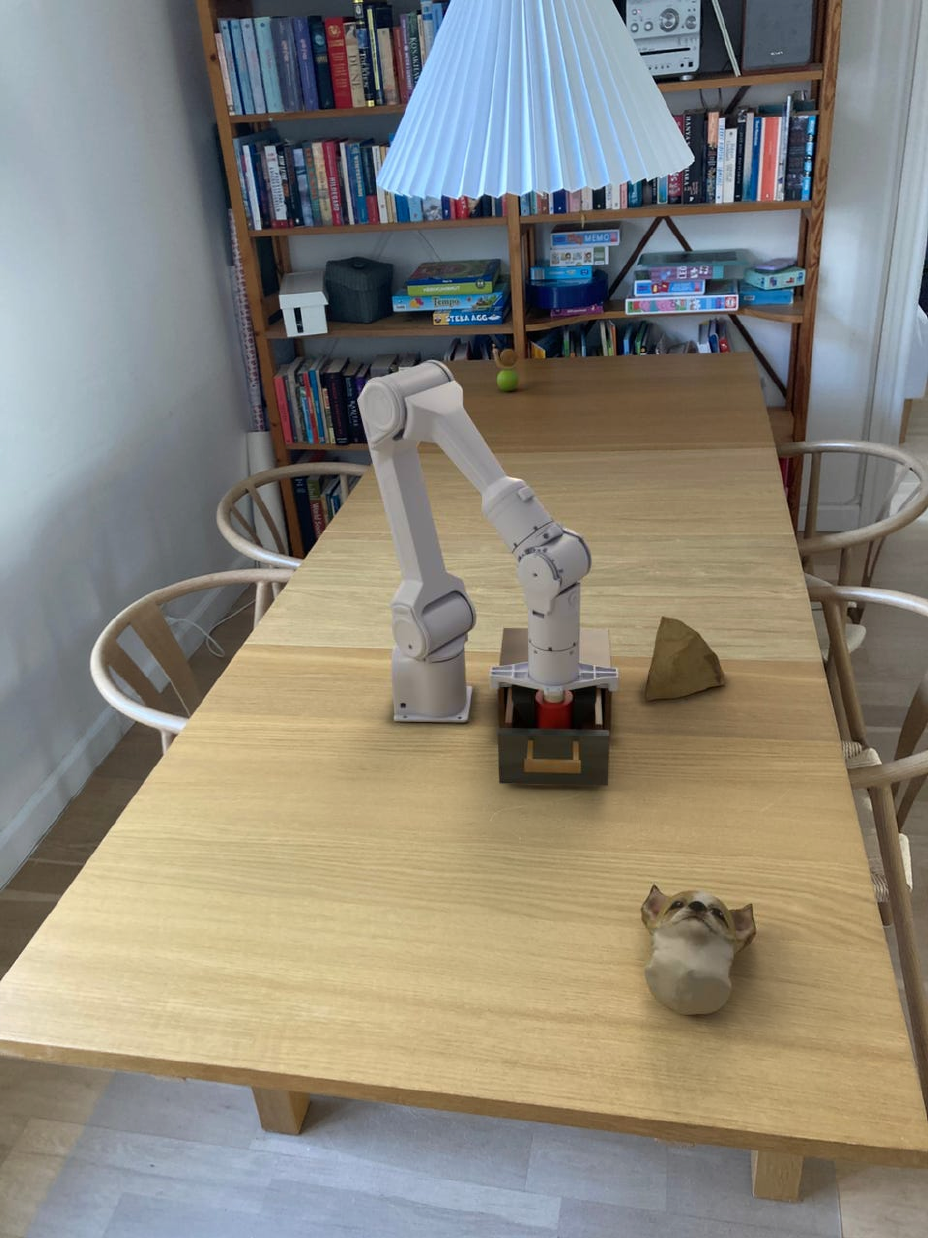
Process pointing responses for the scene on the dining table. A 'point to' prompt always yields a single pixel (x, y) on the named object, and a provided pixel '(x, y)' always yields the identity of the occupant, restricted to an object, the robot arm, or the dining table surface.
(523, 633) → the cabinet
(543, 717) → the red plastic cylinder
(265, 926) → the dining table surface
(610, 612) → the dining table surface
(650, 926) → the ceramic sculpture
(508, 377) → the snail figurine
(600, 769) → the drawer
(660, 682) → the rock
